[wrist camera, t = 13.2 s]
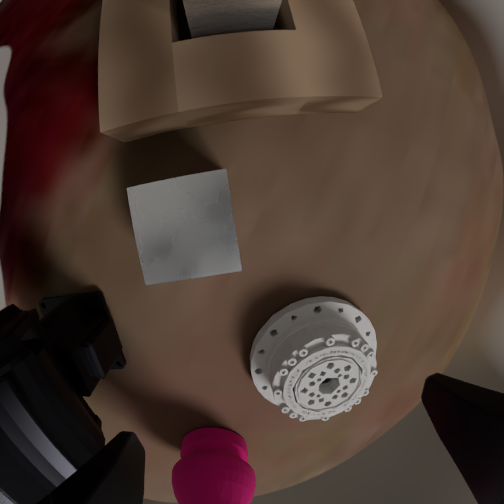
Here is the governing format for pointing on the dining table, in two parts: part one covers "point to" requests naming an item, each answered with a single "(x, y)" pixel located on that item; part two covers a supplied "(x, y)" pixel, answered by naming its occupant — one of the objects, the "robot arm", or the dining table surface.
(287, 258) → the dining table surface
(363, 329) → the mechanical component
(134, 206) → the grey cube
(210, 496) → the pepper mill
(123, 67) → the hole block
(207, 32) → the grey tall rectangular block
